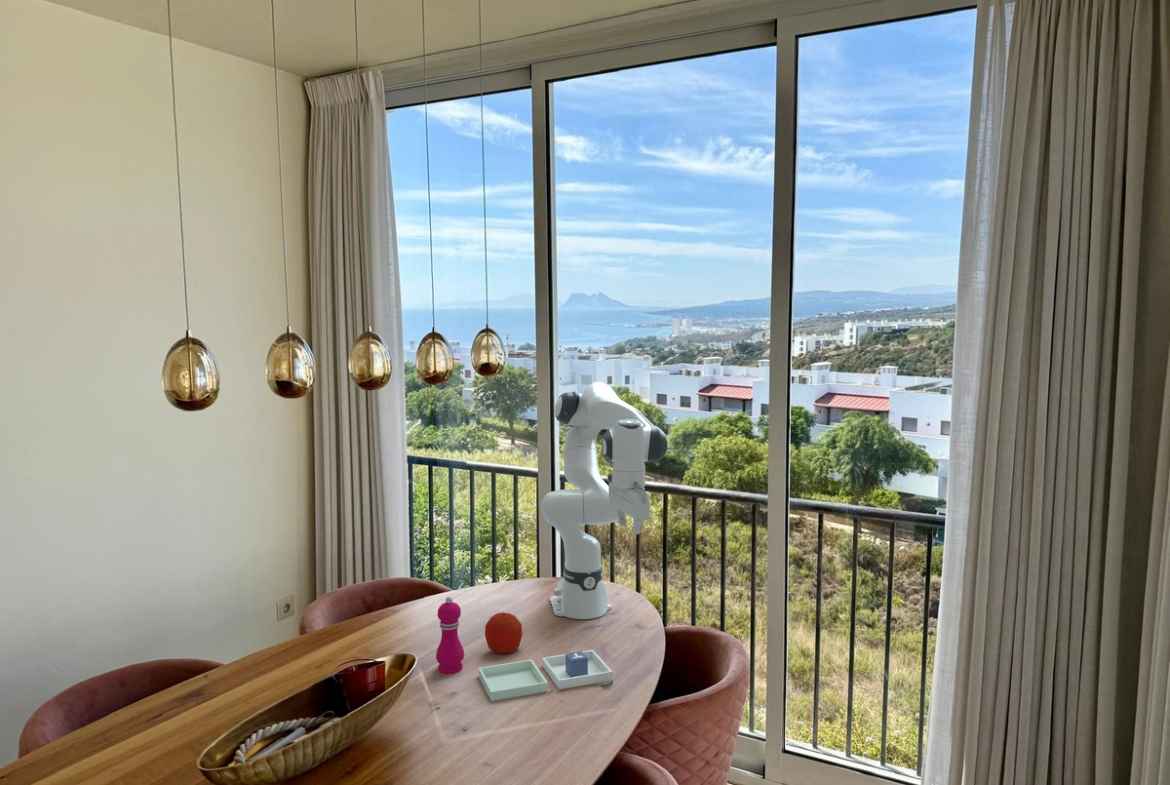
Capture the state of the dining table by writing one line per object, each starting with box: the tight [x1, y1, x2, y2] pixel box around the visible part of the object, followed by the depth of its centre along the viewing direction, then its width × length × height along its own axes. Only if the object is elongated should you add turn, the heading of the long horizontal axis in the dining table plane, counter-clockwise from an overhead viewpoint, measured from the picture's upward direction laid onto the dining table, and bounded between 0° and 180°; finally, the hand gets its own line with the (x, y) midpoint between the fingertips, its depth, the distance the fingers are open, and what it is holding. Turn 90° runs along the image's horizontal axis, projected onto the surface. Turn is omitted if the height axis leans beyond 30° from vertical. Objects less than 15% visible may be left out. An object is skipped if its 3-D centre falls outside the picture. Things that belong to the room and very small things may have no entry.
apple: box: [484, 612, 524, 655], centre depth 214 cm, size 10×10×12 cm
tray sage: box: [477, 659, 549, 702], centre depth 194 cm, size 14×14×3 cm
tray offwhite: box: [541, 649, 614, 690], centre depth 200 cm, size 14×14×3 cm
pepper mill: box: [435, 596, 465, 675], centre depth 202 cm, size 7×7×20 cm
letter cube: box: [565, 650, 588, 677], centre depth 200 cm, size 4×4×5 cm
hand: (629, 529), depth 213 cm, fingers open, 8 cm apart
